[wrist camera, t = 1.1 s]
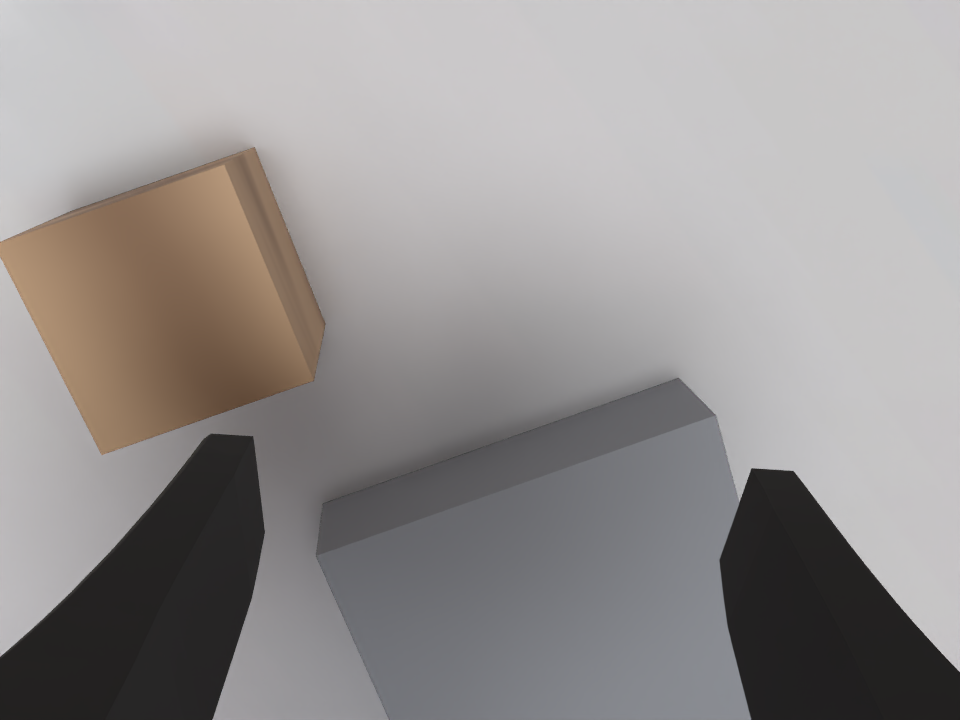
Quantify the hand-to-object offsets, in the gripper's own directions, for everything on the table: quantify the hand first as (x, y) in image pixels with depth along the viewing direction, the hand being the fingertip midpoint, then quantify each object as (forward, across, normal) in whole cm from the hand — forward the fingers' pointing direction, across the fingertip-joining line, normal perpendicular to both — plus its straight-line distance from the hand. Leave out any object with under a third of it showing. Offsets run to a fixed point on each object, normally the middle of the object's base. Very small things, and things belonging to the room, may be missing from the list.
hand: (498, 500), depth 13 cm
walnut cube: (+11, +8, +4) cm, 14 cm away
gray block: (+9, -3, +13) cm, 16 cm away
